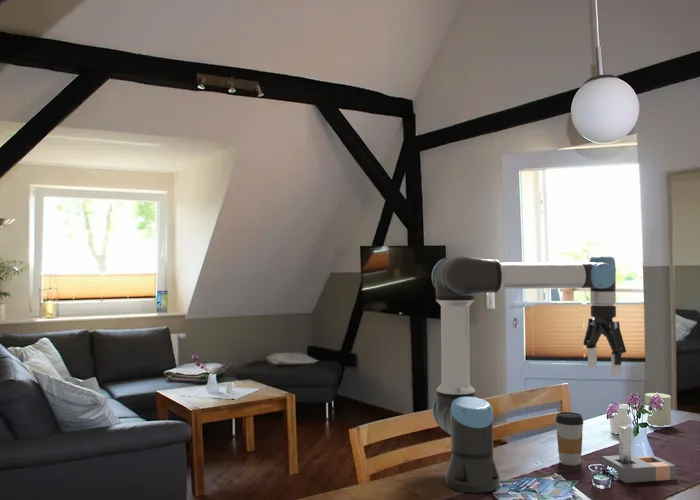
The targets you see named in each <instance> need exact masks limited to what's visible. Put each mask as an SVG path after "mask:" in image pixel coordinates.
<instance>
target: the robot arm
mask: <svg viewBox="0 0 700 500" xmlns="http://www.w3.org/2000/svg"><path fill="white" fill-rule="evenodd" d="M616 268H617V267H616V261H615V258H614V257H613V256H591V257H590V258H589V262H500V261H499V260H498V259H490V258H489V259H488V258H487V259H486V258H480V257H479V258H478V257H474V256H466V255H465V256H464V255H461V256H456V255H455V256H453V255H452V256H450V255H449V256H447V257H445V258H442V259H440V260H439V261H437V262H436V264H435V265H434V266H433V269H432V270H431V271H432V272H431V282H432V286H433V287H434V288H435V301H436V303H438V304H439V305H440V338H441V339H440V341H441V342H440V344H441V345H440V346H441V347H440V348H441V349H440V353H441V354H440V356H441V361H440V362H441V364H440V366H441V369H440V371H441V382H440V385H439V386H438V387H437V388H436V398H435V399H434V402H433V403H432V416H433V419H434V421H435V422H436V424H437V425H438V427H439V428H440V429H441V430H443V432H446V433H447V434H448V435H450V436H451V437H450V438H451V457H450V459H449V463H448V465H447V469H446V472H445V485H446V486H447V487H449V488H451V489H453V490H456V491H459V492H464V493H471V494H472V493H473V494H475V493H476V494H478V493H479V494H480V493H489V492H493V491H492V490H494V489H496V488H498V487H499V488H500V486H501V485H500V482H501V480H500V479H501V478H500V474H499V472H498V468H497V465H496V462H495V459H494V414H493V413H494V411H493V407H492V404H490V402H489V401H487V400H486V399H484V398H478V397H476V389H475V388H474V387H473V386H472V385H471V380H470V379H471V376H470V375H471V374H470V373H471V372H470V371H471V369H470V367H471V366H470V363H471V362H470V361H471V360H470V357H471V355H470V353H471V352H470V306H471V305H472V304H473V303H474V301H475V295H480V294H481V295H482V294H488V293H489V294H491V293H495V294H497V293H499V292H500V291H501V290H513V289H514V290H521V289H522V290H526V289H527V290H528V289H530V290H531V289H590V291H589V292H590V294H589V295H590V304H591V305H590V317H591V318H587V319H588V320H587V321H588V323H587V328H586V331H585V336H584V339H583V346H586V348H587V368H588V369H597V368H598V365H597V364H598V360H597V359H598V357H597V355H598V353H597V349H598V347H597V343H598V342H599V340H600V338H601V335H603V336H604V337H605V338H606V340H607V342H608V345H609V347H610V349H611V351H612V352H611V355H610V356H611V357H610V358H611V359H610V362H611V376H622V355H623V354H625V353H627V350H626V346H625V341H624V340H623V339H624V338H623V335H622V332H621V328H620V321H614V320H613V318H614V319H615V318H616V317H617V306H616V305H615V304H616V303H617V301H616V300H617V299H616V298H617V294H616V288H617V287H616V281H617V280H616V271H617V269H616ZM499 485H500V486H499ZM499 488H498V489H499ZM496 490H497V489H496ZM494 491H495V490H494Z"/></svg>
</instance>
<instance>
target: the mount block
mask: <svg viewBox="0 0 700 500" xmlns="http://www.w3.org/2000/svg"><path fill="white" fill-rule="evenodd" d="M602 465H604V466H609V467H612V468H614V469H615V470H616V471H617V473H618V480H619V481H621V482H623V483H626V484H630V483H640V482H656V481H658V482H659V481H671V480H673V481H674V480H677V477H676V476H677V475H676V474H677V473H676V471H677V470H676V468H677V467H676V464H674V463H671V462H668V461H667V460H665V459H663V458H660V457H658V456H656V455H653V454H652V456H649V457H633V456H631V464H621V463H619V454H618V455H604V456H603V455H602V456H601V466H602Z"/></svg>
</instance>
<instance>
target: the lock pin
mask: <svg viewBox="0 0 700 500" xmlns="http://www.w3.org/2000/svg"><path fill="white" fill-rule="evenodd" d="M631 429H632V427H631V428H630V427H627V426H620V427H619V435H618V443H619V444H618V445H619V447H618V448H619V449H618V451H619V454H618V455H619V463H621V464H631V455H632V433H631V432H632V430H631Z"/></svg>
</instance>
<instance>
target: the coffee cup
mask: <svg viewBox="0 0 700 500" xmlns="http://www.w3.org/2000/svg"><path fill="white" fill-rule="evenodd" d="M555 422H556V437H557V452H558V460H559V462H560V463H561V464H562V465H564V466H579V465H580V464H581V461H582V452H583V451H582V450H583V449H582V447H583V431H584V430H583V429H584V428H583V426H584V418H583V416H582V415H581V413H577V412H571V411H562V412H558V413H557V414H556V417H555Z"/></svg>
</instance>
